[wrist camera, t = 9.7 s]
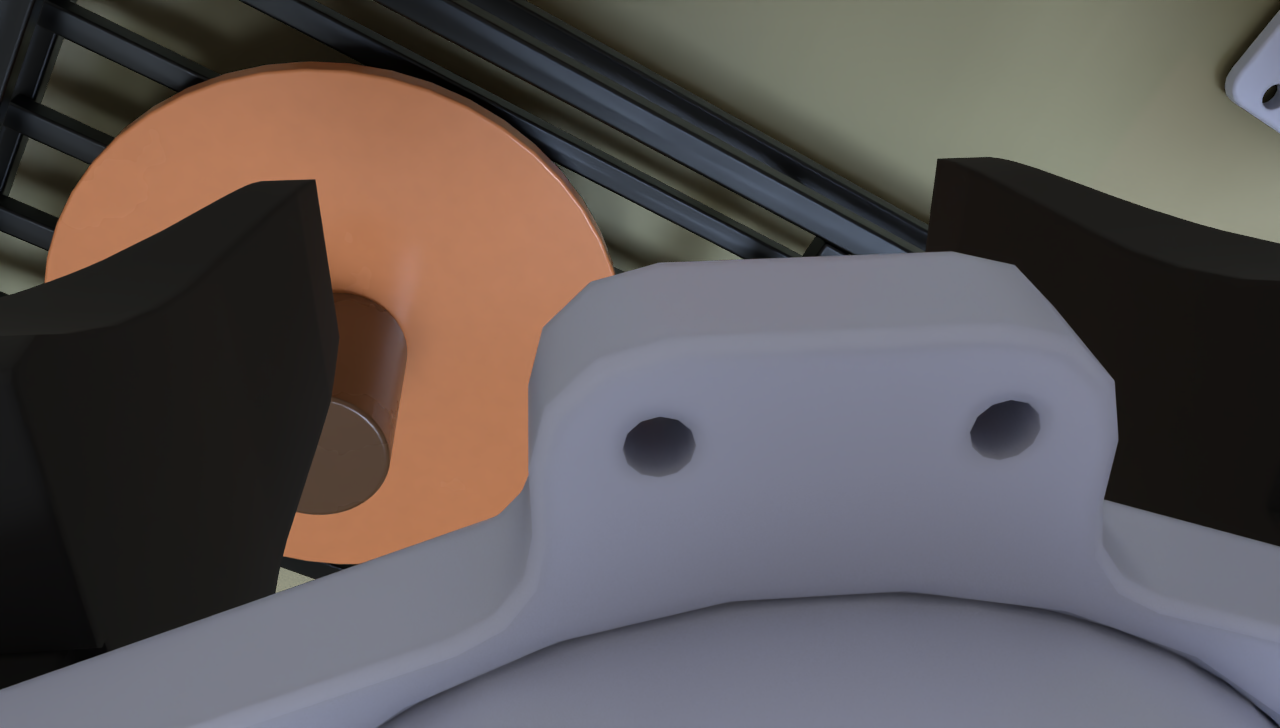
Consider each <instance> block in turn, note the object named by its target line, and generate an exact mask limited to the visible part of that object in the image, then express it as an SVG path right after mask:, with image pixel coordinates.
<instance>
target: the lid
mask: <svg viewBox="0 0 1280 728" xmlns="http://www.w3.org/2000/svg"><path fill="white" fill-rule="evenodd" d="M307 179H315V180H316V186H317V193H318V199H319V206H320V212H321V219H322V225H323V232H324V239H325V245H326V252H327V258H328V265H329V271H330V278H331V284H332V291H333V297H334V304H335V311H336V317H337V324H338V330H339V337H340V338H339V346H338V354H337V362H336V370H335V377H334V384H333V390H332V397H331V403H330V406H329V409H328V413H327V416H326V419H325V423H324V426H323V429H322V432H321V436H320V439H319V442H318V445H317V448H316V452H315V455H314V458H313V461H312V464H311V467H310V470H309V473H308V476H307V480H306V483H305V486H304V489H303V492H302V495H301V498H300V501H299V504H298V508H297V511H296V514H295V517H294V520H293V523H292V526H291V529H290V532H289V536H288V539H287V542H286V546H285V550H284V554H283V556H284V557H289V558H294V559H299V560H305V561H313V562H323V563H333V564H361V563H364V562H367V561H369V560H372V559H375V558H378V557H381V556H384V555H387V554H389V553H392V552H395V551H398V550H401V549H404V548H407V547H409V546H412V545H415V544H418V543H421V542H424V541H427V540H429V539H432V538H435V537H438V536H441V535H444V534H447V533H449V532H452V531H455V530H458V529H461V528H464V527H467V526H469V525H472V524H475V523H478V522H481V521H484V520H487V519H489V518H492V517H495V516H497V515H498V514H500V513H501V512H502V511H503V510H504V509H505V508H506V507H507V506H508V505H509V504H510V503H511V502H512V501H513V500H514V499H515V498H516V497H517V496H518V495H519V494H520V493H521V491H522V490H523V487H524V485H525V482H526V480H527V478H528V475H529V473H528V384H529V380H530V376H531V372H532V368H533V364H534V360H535V356H536V352H537V348H538V344H539V340H540V336H541V332H542V329H543V327H544V326H545V325H546V324H547V323H548V322H549V321H550V320H551V319H552V318H553V317H554V316H555V315H556V314H557V313H559V312H560V311H561V310H562V309H563V308H564V307H565V306H566V305H567V304H568V303H569V302H570V301H571V300H572V299H573V298H574V297H575V296H576V295H577V294H578V293H579V292H580V291H582V290H583V289H584V288H585V287H586V286H587V285H588V284H589V283H590V282H592V281H595V280H599V279H602V278H606V277H609V276H613V275H615V270H614V266H613V262H612V259H611V257H610V254H609V252H608V249H607V246H606V244H605V241H604V239H603V236H602V233H601V231H600V229H599V227H598V226H597V224H596V222H595V220H594V218H593V217H592V215H591V213H590V211H589V209H588V208H587V206H586V204H585V202H584V200H583V199H582V198H581V196H580V195H579V194H578V192H577V191H576V190H575V188H574V187H573V186H572V184H571V183H570V182H569V180H568V179H567V178H566V176H565V175H564V174H563V172H562V171H561V170H560V169H559V168H558V167H557V166H556V165H555V164H554V163H553V162H552V161H551V160H550V159H549V158H548V157H547V156H546V155H545V154H544V153H543V152H542V151H541V150H540V149H539V148H538V147H537V146H536V145H535V144H534V143H533V142H532V141H530V140H529V139H528V138H526V137H525V136H524V135H523V134H521V133H520V132H519V131H518V130H516V129H515V128H514V127H512V126H511V125H510V124H509V123H507V122H506V121H505V120H503V119H502V118H500V117H498V116H497V115H495V114H493V113H492V112H490V111H488V110H487V109H485V108H483V107H482V106H480V105H478V104H477V103H475V102H473V101H472V100H470V99H468V98H466V97H463V96H461V95H459V94H457V93H454V92H452V91H450V90H447V89H445V88H443V87H441V86H438V85H436V84H434V83H432V82H428V81H425V80H422V79H418V78H415V77H412V76H408V75H405V74H402V73H398V72H395V71H392V70H386V69H380V68H375V67H369V66H363V65H357V64H351V63H333V62H311V61H306V62H294V63H282V64H270V65H263V66H258V67H254V68H249V69H244V70H240V71H235V72H231V73H226V74H223V75H221V76H218V77H215V78H212V79H210V80H207V81H204V82H202V83H199V84H196V85H193V86H191V87H188V88H186V89H184V90H182V91H181V92H179V93H177V94H175V95H173V96H171V97H170V98H168V99H166V100H164V101H162V102H160V103H158V104H157V105H155V106H153V107H152V108H151V109H149V110H148V111H147V112H145V113H144V114H143V115H141V116H140V117H139V118H137V119H136V120H135V121H133V122H132V123H131V124H129V125H128V126H127V127H125V128H124V129H123V130H122V131H121V132H120V133H119V134H118V135H117V136H116V137H115V138H114V139H113V140H112V141H111V142H110V143H109V144H108V145H107V146H106V148H105V149H104V150H103V151H102V152H101V153H100V154H99V155H98V156H97V157H96V158H95V159H94V161H93V162H92V163H91V164H90V166H89V167H88V169H87V170H86V172H85V173H84V175H83V176H82V177H81V179H80V180H79V182H78V183H77V185H76V186H75V187H74V189H73V190H72V192H71V194H70V196H69V198H68V200H67V202H66V204H65V206H64V209H63V211H62V213H61V215H60V217H59V219H58V221H57V223H56V227H55V230H54V234H53V237H52V241H51V244H50V248H49V251H48V255H47V261H46V271H45V280H44V283H47V282H49V281H52V280H55V279H58V278H60V277H63V276H66V275H68V274H71V273H73V272H76V271H78V270H81V269H83V268H86V267H88V266H90V265H93V264H95V263H97V262H99V261H102V260H104V259H106V258H108V257H110V256H112V255H114V254H116V253H118V252H120V251H122V250H124V249H126V248H128V247H130V246H132V245H134V244H136V243H138V242H140V241H142V240H144V239H146V238H148V237H150V236H152V235H154V234H156V233H158V232H160V231H162V230H164V229H166V228H168V227H170V226H172V225H173V224H175V223H177V222H179V221H181V220H182V219H184V218H186V217H188V216H190V215H191V214H193V213H195V212H197V211H199V210H200V209H202V208H204V207H206V206H208V205H209V204H211V203H213V202H215V201H217V200H218V199H220V198H222V197H224V196H226V195H228V194H230V193H232V192H234V191H236V190H238V189H240V188H242V187H244V186H246V185H249V184H251V183H255V182H259V181H276V180H307Z"/></svg>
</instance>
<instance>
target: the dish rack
mask: <svg viewBox="0 0 1280 728" xmlns="http://www.w3.org/2000/svg"><path fill="white" fill-rule="evenodd" d="M239 1H241V2H243V3H245V4H247V5H249V6H251V7H253V8H255V9H257V10H259V11H261V12H262V13H264V14H266V15H268V16H270V17H272V18H274V19H276V20H278V21H280V22H282V23H284V24H286V25H288V26H290V27H292V28H294V29H296V30H298V31H300V32H302V33H303V34H305V35H307V36H309V37H311V38H313V39H315V40H317V41H319V42H321V43H323V44H325V45H327V46H329V47H331V48H333V49H335V50H337V51H339V52H341V53H343V54H344V55H346V56H348V57H350V58H352V59H354V60H356V61H358V62H360V63H362V64H364V65H366V66H369V67H375V68H380V69H386V70H392V71H395V72H398V73H402V74H405V75H408V76H412V77H415V78H418V79H422V80H425V81H428V82H432V83H434V84H436V85H438V86H441V87H443V88H445V89H447V90H450V91H452V92H454V93H457V94H459V95H461V96H463V97H466V98H468V99H470V100H472V101H473V102H475V103H477V104H478V105H480V106H482V107H483V108H485V109H487V110H488V111H490V112H492V113H493V114H495V115H497V116H498V117H500V118H502V119H503V120H505V121H506V122H507V123H509V124H510V125H511V126H512V127H514V128H515V129H516V130H518V131H519V132H520V133H521V134H523V135H524V136H525V137H526V138H528V139H529V140H530V141H532V142H533V143H534V144H535V145H536V146H537V147H538V148H539V149H540V150H541V151H542V152H543V153H544V154H545V155H546V156H547V157H548V158H549V159H550V160H551V161H553V162H555V163H557V164H559V165H561V166H563V167H565V168H567V169H569V170H571V171H573V172H575V173H577V174H579V175H581V176H583V177H585V178H587V179H589V180H591V181H592V182H594V183H596V184H598V185H600V186H602V187H604V188H606V189H608V190H610V191H612V192H614V193H616V194H618V195H620V196H622V197H624V198H626V199H628V200H630V201H632V202H633V203H635V204H637V205H639V206H641V207H643V208H645V209H647V210H649V211H651V212H653V213H655V214H657V215H659V216H661V217H663V218H665V219H667V220H669V221H671V222H673V223H674V224H676V225H678V226H680V227H682V228H684V229H686V230H688V231H690V232H692V233H694V234H696V235H698V236H700V237H702V238H704V239H706V240H708V241H710V242H712V243H714V244H716V245H717V246H719V247H721V248H723V249H725V250H727V251H729V252H731V253H733V254H735V255H737V256H739V257H741V258H743V259H767V258H793V257H819V256H845V255H871V254H897V253H923V252H925V249H926V242H927V234H928V227H929V225H928V224H926V223H924V222H922V221H920V220H919V219H917V218H915V217H913V216H911V215H910V214H908V213H906V212H904V211H902V210H901V209H899V208H897V207H895V206H894V205H892V204H890V203H888V202H886V201H885V200H883V199H881V198H879V197H877V196H876V195H874V194H872V193H870V192H868V191H867V190H865V189H863V188H861V187H859V186H858V185H856V184H854V183H852V182H850V181H849V180H847V179H845V178H843V177H841V176H840V175H838V174H836V173H834V172H833V171H831V170H829V169H827V168H825V167H824V166H822V165H820V164H818V163H816V162H815V161H813V160H811V159H809V158H807V157H806V156H804V155H802V154H800V153H798V152H797V151H795V150H793V149H791V148H789V147H788V146H786V145H784V144H782V143H781V142H779V141H777V140H775V139H773V138H772V137H770V136H768V135H766V134H764V133H763V132H761V131H759V130H757V129H755V128H754V127H752V126H750V125H748V124H746V123H745V122H743V121H741V120H739V119H737V118H736V117H734V116H732V115H730V114H728V113H727V112H725V111H723V110H721V109H720V108H718V107H716V106H714V105H712V104H711V103H709V102H707V101H705V100H703V99H702V98H700V97H698V96H696V95H694V94H693V93H691V92H689V91H687V90H685V89H684V88H682V87H680V86H678V85H676V84H675V83H673V82H671V81H669V80H667V79H666V78H664V77H662V76H660V75H659V74H657V73H655V72H653V71H651V70H650V69H648V68H646V67H644V66H642V65H641V64H639V63H637V62H635V61H633V60H632V59H630V58H628V57H626V56H624V55H623V54H621V53H619V52H617V51H615V50H614V49H612V48H610V47H608V46H607V45H605V44H603V43H601V42H599V41H598V40H596V39H594V38H592V37H590V36H589V35H587V34H585V33H583V32H581V31H580V30H578V29H576V28H574V27H572V26H571V25H569V24H567V23H565V22H563V21H562V20H560V19H558V18H556V17H554V16H553V15H551V14H549V13H547V12H546V11H544V10H542V9H540V8H538V7H537V6H535V5H533V4H531V3H529V2H528V1H526V0H373V1H375V2H377V3H379V4H381V5H383V6H384V7H386V8H388V9H390V10H392V11H394V12H396V13H398V14H400V15H401V16H403V17H405V18H407V19H409V20H411V21H413V22H415V23H416V24H418V25H420V26H422V27H424V28H426V29H428V30H430V31H431V32H433V33H435V34H437V35H439V36H441V37H443V38H445V39H446V40H448V41H450V42H452V43H454V44H456V45H458V46H460V47H462V48H463V49H465V50H467V51H469V52H471V53H473V54H475V55H477V56H478V57H480V58H482V59H484V60H486V61H488V62H490V63H492V64H493V65H495V66H497V67H499V68H501V69H503V70H505V71H507V72H508V73H510V74H512V75H514V76H516V77H518V78H520V79H522V80H523V81H525V82H527V83H529V84H531V85H533V86H535V87H537V88H539V89H540V90H542V91H544V92H546V93H548V94H550V95H552V96H554V97H555V98H557V99H559V100H561V101H563V102H565V103H567V104H569V105H570V106H572V107H574V108H576V109H578V110H580V111H582V112H584V113H585V114H587V115H589V116H591V117H593V118H595V119H597V120H599V121H601V122H602V123H604V124H606V125H608V126H610V127H612V128H614V129H616V130H617V131H619V132H621V133H623V134H625V135H627V136H629V137H631V138H632V139H634V140H636V141H638V142H640V143H642V144H644V145H646V146H647V147H649V148H651V149H653V150H655V151H657V152H659V153H661V154H662V155H664V156H666V157H668V158H670V159H672V160H674V161H676V162H678V163H679V164H681V165H683V166H685V167H687V168H689V169H691V170H693V171H694V172H696V173H698V174H700V175H702V176H704V177H706V178H708V179H709V180H711V181H713V182H715V183H717V184H719V185H721V186H723V187H724V188H726V189H728V190H730V191H732V192H734V193H736V194H738V195H740V196H741V197H743V198H745V199H747V200H749V201H751V202H753V203H755V204H756V205H758V206H760V207H762V208H764V209H766V210H768V211H770V212H771V213H773V214H775V215H777V216H779V217H781V218H783V219H785V220H786V221H788V222H790V223H792V224H794V225H796V226H798V227H800V228H801V229H803V230H805V231H807V232H809V233H811V234H813V235H815V236H816V237H815V238H814V240H813V241H812V243H811V244H810V246H809V247H808V248H807V250H806V251H805V253H804V254H803V256H802V255H800V254H798V253H796V252H794V251H792V250H790V249H788V248H787V247H785V246H783V245H781V244H779V243H777V242H775V241H773V240H771V239H769V238H767V237H766V236H764V235H762V234H760V233H758V232H756V231H754V230H752V229H750V228H748V227H746V226H745V225H743V224H741V223H739V222H737V221H735V220H733V219H731V218H729V217H727V216H725V215H724V214H722V213H720V212H718V211H716V210H714V209H712V208H710V207H708V206H706V205H704V204H703V203H701V202H699V201H697V200H695V199H693V198H691V197H689V196H687V195H685V194H683V193H681V192H680V191H678V190H676V189H674V188H672V187H670V186H668V185H666V184H664V183H662V182H660V181H659V180H657V179H655V178H653V177H651V176H649V175H647V174H645V173H643V172H641V171H639V170H638V169H636V168H634V167H632V166H630V165H628V164H626V163H624V162H622V161H620V160H618V159H617V158H615V157H613V156H611V155H609V154H607V153H605V152H603V151H601V150H599V149H597V148H595V147H594V146H592V145H590V144H588V143H586V142H584V141H582V140H580V139H578V138H576V137H574V136H573V135H571V134H569V133H567V132H565V131H563V130H561V129H559V128H557V127H555V126H553V125H552V124H550V123H548V122H546V121H544V120H542V119H540V118H538V117H536V116H534V115H532V114H531V113H529V112H527V111H525V110H523V109H521V108H519V107H517V106H515V105H513V104H511V103H510V102H508V101H506V100H504V99H502V98H500V97H498V96H496V95H494V94H492V93H490V92H488V91H487V90H485V89H483V88H481V87H479V86H477V85H475V84H473V83H471V82H469V81H467V80H466V79H464V78H462V77H460V76H458V75H456V74H454V73H452V72H450V71H448V70H446V69H445V68H443V67H441V66H439V65H437V64H435V63H433V62H431V61H429V60H427V59H425V58H424V57H422V56H420V55H418V54H416V53H414V52H412V51H410V50H408V49H406V48H404V47H402V46H401V45H399V44H397V43H395V42H393V41H391V40H389V39H387V38H385V37H383V36H381V35H380V34H378V33H376V32H374V31H372V30H370V29H368V28H366V27H364V26H362V25H360V24H359V23H357V22H355V21H353V20H351V19H349V18H347V17H345V16H343V15H341V14H339V13H338V12H336V11H334V10H332V9H330V8H328V7H326V6H324V5H322V4H320V3H318V2H317V1H315V0H239ZM76 2H77V0H0V231H2V232H4V233H6V234H9V235H11V236H14V237H16V238H18V239H21V240H23V241H26V242H28V243H30V244H33V245H35V246H37V247H40V248H42V249H45V250H47V251H49V248H50V244H51V241H52V237H53V234H54V230H55V227H56V223H57V221H58V219H59V218H57V217H55V216H52V215H50V214H48V213H45V212H43V211H41V210H38V209H36V208H34V207H31V206H29V205H27V204H24V203H22V202H20V201H17V200H15V199H13V198H10V197H8V196H9V193H10V190H11V187H12V184H13V181H14V179H15V176H16V173H17V170H18V167H19V164H20V161H21V159H22V156H23V153H24V150H25V147H26V144H27V141H28V139H29V138H31V139H34V140H36V141H38V142H40V143H43V144H45V145H47V146H49V147H52V148H54V149H56V150H58V151H61V152H63V153H65V154H67V155H70V156H72V157H74V158H76V159H79V160H81V161H83V162H85V163H87V164H91V163H92V162H93V161H94V159H95V158H96V157H97V156H98V155H99V154H100V153H101V152H102V151H103V150H104V149H105V148H106V146H107V145H108V144H109V143H110V142H111V141H112V140H113V139H114V137H112V136H110V135H107V134H105V133H103V132H101V131H99V130H96V129H94V128H92V127H90V126H88V125H85V124H83V123H81V122H79V121H77V120H75V119H72V118H70V117H68V116H66V115H64V114H61V113H59V112H57V111H55V110H53V109H50V108H48V107H46V106H44V105H42V104H41V102H42V99H43V96H44V93H45V90H46V87H47V85H48V82H49V79H50V76H51V73H52V70H53V67H54V65H55V62H56V59H57V56H58V53H59V50H60V47H61V45H62V42H63V39H64V38H65V39H67V40H69V41H72V42H74V43H76V44H78V45H80V46H82V47H84V48H86V49H88V50H90V51H92V52H95V53H97V54H99V55H101V56H103V57H105V58H107V59H109V60H111V61H113V62H115V63H118V64H120V65H122V66H124V67H126V68H128V69H130V70H132V71H134V72H136V73H138V74H141V75H143V76H145V77H147V78H149V79H151V80H153V81H155V82H157V83H159V84H162V85H164V86H166V87H168V88H170V89H172V90H174V91H176V92H178V93H179V92H181V91H182V90H184V89H186V88H188V87H191V86H193V85H196V84H199V83H202V82H204V81H207V80H210V79H212V78H215V77H218V76H221V75H220V74H218V73H216V72H214V71H212V70H210V69H208V68H206V67H204V66H202V65H200V64H198V63H196V62H193V61H191V60H189V59H187V58H185V57H183V56H181V55H179V54H177V53H175V52H173V51H171V50H169V49H167V48H165V47H163V46H161V45H159V44H157V43H155V42H153V41H150V40H148V39H146V38H144V37H142V36H140V35H138V34H136V33H134V32H132V31H130V30H128V29H126V28H124V27H122V26H120V25H118V24H116V23H114V22H112V21H110V20H107V19H105V18H103V17H101V16H99V15H97V14H95V13H93V12H91V11H89V10H87V9H85V8H83V7H81V6H79V5H77V4H76ZM614 270H615V275H617V274H620V273H624V272H623V271H621V270H619V269H617V268H615V267H614ZM7 295H8V294H5V293H3V292H0V297H4V296H7ZM355 565H358V564H333V563H323V562H313V561H305V560H299V559H294V558H289V557H284V556H283V558H282V562H281V566H280V567H282V568H285V569H288V570H291V571H293V572H296V573H299V574H302V575H305V576H308V577H310V578H313V579H318V578H321V577H324V576H327V575H330V574H332V573H335V572H338V571H341V570H344V569H347V568H349V567H352V566H355Z"/></svg>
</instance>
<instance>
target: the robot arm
mask: <svg viewBox="0 0 1280 728" xmlns="http://www.w3.org/2000/svg"><path fill="white" fill-rule="evenodd" d="M1273 85H1277V92H1276V93H1275V95H1274V97H1273V98H1272V99H1270V100H1269V101H1268V102H1265V103H1262V98H1263V95H1264V94H1265V92H1266V90H1268V89H1269V88H1270V87H1271V86H1273ZM1225 91H1226V95H1227V96H1228V97H1229V99H1230V100H1231V101H1232V102H1234V103H1235V104H1237V105H1238V106H1240V107H1241V108H1243V109H1244V110H1246V111H1247V112H1249V113H1250V114H1252V115H1253V116H1255V117H1256V118H1258V119H1259V120H1261V121H1262V122H1263V123H1265V124H1266V125H1268V126H1269V127H1271V128H1272V129H1274V130H1275V131H1277V132H1278V133H1280V10H1279V11H1278V12H1277V14H1276V15H1275V16H1274V17H1273V19H1272V20H1271V21H1270V22H1269V23H1268V25H1267V26H1266V27H1265V28H1264V30H1263V31H1262V32H1261V33H1260V34H1259V36H1258V37H1257V38H1256V39H1255V41H1254V42H1253V43H1252V44H1251V45H1250V47H1249V48H1248V49H1247V50H1246V52H1245V53H1244V54H1243V55H1242V56H1241V58H1240V59H1239V60H1238V61H1237V63H1236V64H1235V65H1234V66H1233V67H1232V69H1231V71H1230V72H1229V74H1228V76H1227V77H1226V82H1225ZM339 338H340V337H339V330H338V324H337V317H336V311H335V304H334V297H333V291H332V284H331V278H330V271H329V265H328V258H327V252H326V245H325V239H324V232H323V225H322V219H321V212H320V206H319V199H318V193H317V186H316V180H315V179H307V180H276V181H259V182H255V183H251V184H249V185H246V186H244V187H242V188H240V189H238V190H236V191H234V192H232V193H230V194H228V195H226V196H224V197H222V198H220V199H218V200H217V201H215V202H213V203H211V204H209V205H208V206H206V207H204V208H202V209H200V210H199V211H197V212H195V213H193V214H191V215H190V216H188V217H186V218H184V219H182V220H181V221H179V222H177V223H175V224H173V225H172V226H170V227H168V228H166V229H164V230H162V231H160V232H158V233H156V234H154V235H152V236H150V237H148V238H146V239H144V240H142V241H140V242H138V243H136V244H134V245H132V246H130V247H128V248H126V249H124V250H122V251H120V252H118V253H116V254H114V255H112V256H110V257H108V258H106V259H104V260H102V261H99V262H97V263H95V264H93V265H90V266H88V267H86V268H83V269H81V270H78V271H76V272H73V273H71V274H68V275H66V276H63V277H60V278H58V279H55V280H52V281H49V282H47V283H44V284H41V285H38V286H36V287H33V288H30V289H27V290H24V291H21V292H18V293H15V294H11V295H7V296H4V297H0V728H1280V244H1279V243H1275V242H1270V241H1266V240H1261V239H1257V238H1253V237H1248V236H1244V235H1240V234H1235V233H1231V232H1227V231H1222V230H1219V229H1215V228H1211V227H1207V226H1204V225H1200V224H1197V223H1193V222H1190V221H1187V220H1184V219H1180V218H1177V217H1174V216H1171V215H1168V214H1164V213H1161V212H1158V211H1155V210H1152V209H1148V208H1146V207H1143V206H1140V205H1137V204H1134V203H1131V202H1128V201H1125V200H1122V199H1120V198H1117V197H1114V196H1111V195H1108V194H1106V193H1103V192H1100V191H1097V190H1095V189H1092V188H1089V187H1087V186H1084V185H1081V184H1078V183H1076V182H1073V181H1070V180H1068V179H1065V178H1062V177H1059V176H1056V175H1054V174H1051V173H1048V172H1045V171H1042V170H1040V169H1037V168H1034V167H1030V166H1027V165H1024V164H1021V163H1017V162H1014V161H1010V160H1005V159H1000V158H992V157H977V158H947V159H937V167H936V174H935V182H934V189H933V197H932V204H931V212H930V219H929V227H928V234H927V242H926V249H925V252H923V253H897V254H871V255H845V256H819V257H793V258H767V259H741V260H715V261H689V262H663V263H656V264H652V265H649V266H645V267H641V268H638V269H634V270H631V271H627V272H624V273H620V274H617V275H613V276H609V277H606V278H602V279H599V280H595V281H592V282H590V283H589V284H588V285H587V286H586V287H585V288H584V289H583V290H582V291H580V292H579V293H578V294H577V295H576V296H575V297H574V298H573V299H572V300H571V301H570V302H569V303H568V304H567V305H566V306H565V307H564V308H563V309H562V310H561V311H560V312H559V313H557V314H556V315H555V316H554V317H553V318H552V319H551V320H550V321H549V322H548V323H547V324H546V325H545V326H544V327H543V329H542V332H541V336H540V340H539V344H538V348H537V352H536V356H535V360H534V364H533V368H532V372H531V376H530V380H529V384H528V473H529V475H528V478H527V480H526V482H525V485H524V487H523V490H522V491H521V493H520V494H519V495H518V496H517V497H516V498H515V499H514V500H513V501H512V502H511V503H510V504H509V505H508V506H507V507H506V508H505V509H504V510H503V511H502V512H501V513H500V514H498V515H497V516H495V517H492V518H489V519H487V520H484V521H481V522H478V523H475V524H472V525H469V526H467V527H464V528H461V529H458V530H455V531H452V532H449V533H447V534H444V535H441V536H438V537H435V538H432V539H429V540H427V541H424V542H421V543H418V544H415V545H412V546H409V547H407V548H404V549H401V550H398V551H395V552H392V553H389V554H387V555H384V556H381V557H378V558H375V559H372V560H369V561H367V562H364V563H361V564H358V565H355V566H352V567H349V568H347V569H344V570H341V571H338V572H335V573H332V574H330V575H327V576H324V577H321V578H318V579H315V580H312V581H310V582H307V583H304V584H301V585H298V586H295V587H292V588H290V589H287V590H284V591H281V592H278V593H275V591H276V586H277V580H278V574H279V570H280V566H281V562H282V558H283V554H284V550H285V546H286V542H287V539H288V536H289V532H290V529H291V526H292V523H293V520H294V517H295V514H296V511H297V508H298V504H299V501H300V498H301V495H302V492H303V489H304V486H305V483H306V480H307V476H308V473H309V470H310V467H311V464H312V461H313V458H314V455H315V452H316V448H317V445H318V442H319V439H320V436H321V432H322V429H323V426H324V423H325V419H326V416H327V413H328V409H329V406H330V403H331V397H332V390H333V384H334V377H335V370H336V362H337V354H338V346H339Z"/></svg>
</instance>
